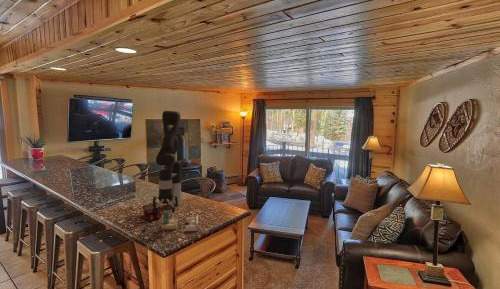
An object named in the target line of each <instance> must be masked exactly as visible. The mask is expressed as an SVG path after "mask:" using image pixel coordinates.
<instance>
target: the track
mask: <svg viewBox="0 0 500 289" xmlns="http://www.w3.org/2000/svg"><path fill="white" fill-rule="evenodd" d="M161 224H162V223H159V224H158V223H156V224H155V223H154V224H150V221H148V220H147V221H146V223H145V226H144V228H143V231H144V232H154V231H155V232H156V231H157V232H158V231H160V232H161V231H179V230H180V228H177V229H161V228H159V229H148V228H149V227H151V226H152V227H155V226H161ZM178 225H179V226H180V225H181V223H178ZM178 225H177V226H178Z"/></svg>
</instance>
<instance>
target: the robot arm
mask: <svg viewBox="0 0 500 289" xmlns="http://www.w3.org/2000/svg"><path fill="white" fill-rule="evenodd" d="M161 118H162V119H161V120H162V127H163V132H164V134H163V138H162V141H161V147H160V150H159V151H158V153H157V155H156V157H155V163H156V165H157V166H162V167H163V166H165V168H162V169H160V170H159V174H158V176H159V178H158V179H159V182H158V196H156V195H154V196H153V198H152V204H153V207H156V213H157V214H159V206H161V204H163V205H165V204H166V205H168V206H169V207H171V214H174V213H175V211H176V207H178V206H181V204H182V201H181V200H182V161H181V160H176V157H175V154H177V153H178V150H179V146H180V145H179V144H180V143H179V138H178V135H177V133H178V130H179V128H180V125H181V113H180V112H179V111H176V110H163V111H162V115H161ZM170 126H172V127H170ZM173 174H175V175H173ZM157 200H159V201H158V202H157ZM156 202H157V203H158V204H156Z"/></svg>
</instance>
